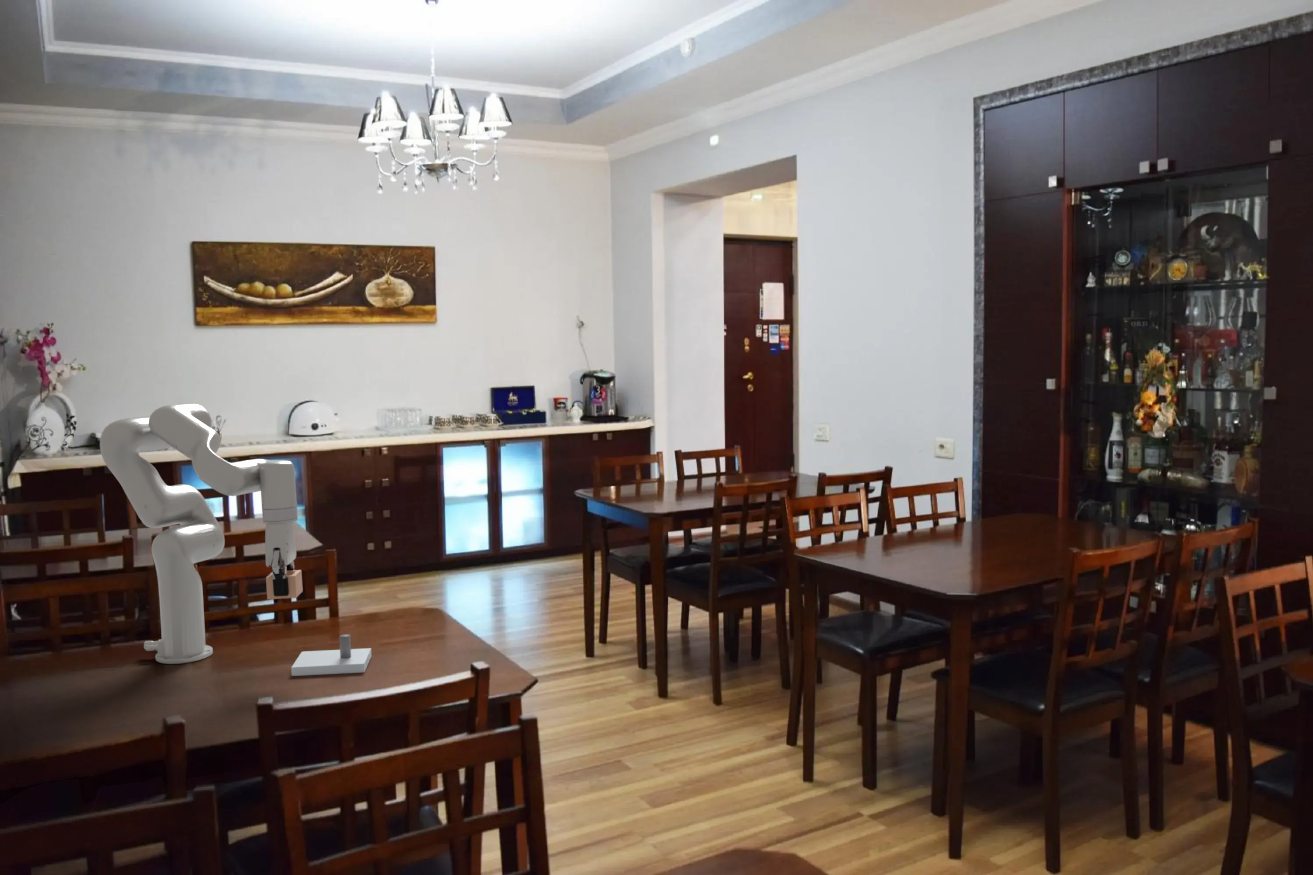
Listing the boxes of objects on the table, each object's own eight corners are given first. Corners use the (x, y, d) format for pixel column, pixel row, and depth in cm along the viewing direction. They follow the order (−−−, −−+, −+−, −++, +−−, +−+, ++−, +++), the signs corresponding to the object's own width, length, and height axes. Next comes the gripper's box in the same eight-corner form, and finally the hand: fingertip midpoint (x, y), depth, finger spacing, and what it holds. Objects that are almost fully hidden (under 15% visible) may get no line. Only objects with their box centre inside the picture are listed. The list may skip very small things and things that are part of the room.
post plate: (291, 675, 234) (290, 645, 234) (302, 659, 246) (301, 630, 246) (364, 672, 237) (363, 642, 236) (371, 656, 248) (370, 627, 248)
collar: (267, 599, 235) (265, 577, 234) (274, 592, 241) (272, 571, 241) (296, 597, 235) (295, 575, 235) (302, 590, 242) (301, 569, 241)
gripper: (272, 509, 245) (277, 584, 246) (252, 522, 228) (258, 602, 229) (305, 508, 246) (309, 582, 247) (288, 520, 228) (293, 600, 230)
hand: (285, 591), depth 238 cm, fingers closed on collar, 6 cm apart
